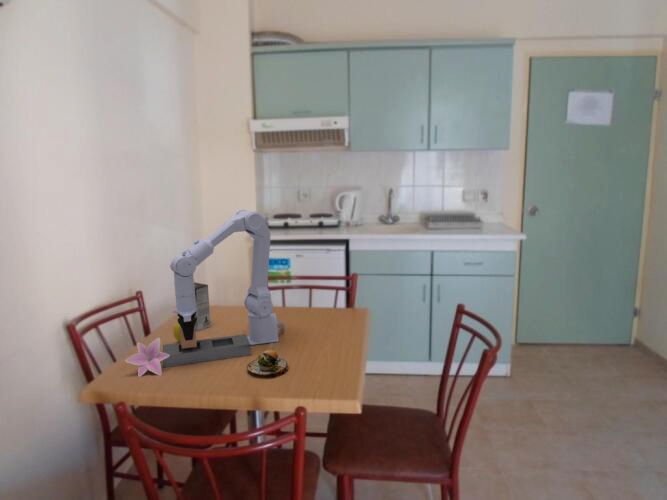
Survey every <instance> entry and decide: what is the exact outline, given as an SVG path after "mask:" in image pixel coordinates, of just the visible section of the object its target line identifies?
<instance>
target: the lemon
mask: <svg viewBox="0 0 667 500" xmlns="http://www.w3.org/2000/svg"><path fill="white" fill-rule="evenodd" d="M173 337H174V339H175V340H176V341H177V342H178V343H181V334H180V324H179V323H178V322H176V323H175V324H174V327H173Z"/></svg>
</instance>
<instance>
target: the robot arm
mask: <svg viewBox="0 0 667 500" xmlns="http://www.w3.org/2000/svg"><path fill="white" fill-rule="evenodd" d="M238 232H246V233H247V234H248V235H249V236H250V237H251V238H252V239H253V247H252V249H253V250H252V264H251V265H252V266H251V282H250V284H251V285H250V286H249V288H247V293H246V296H245V299H244V301H243V302H244V308H245V309H246V310H247V318H248V331H249V332H248V336H247V335H246V336H247V338H248V340H249V343H250V346H253V345H262V344H267V343H268V344H269V343H270V344H271V343H275V342H276V343H277V342H279V334H278V333H279V330H278V319H277V313H275V312H273V308H274V304H273V302H272V294H271V292H270V289H269V288H268V283H269V282H268V279H269V269H270V268H269V267H270V266H269V264H270V253H271V252H270V251H271V250H270V249H271V237H272V236H271V232H270V230H269V227H268V225H267V219H266V217H265V216H263V214H261V213H260V212H258V211H254V210H253V211H251V210H246V209H240V210H238V211H237V212H236V213H235V214H233V215H230V217H229V218H228V219H227V220H226V221H225V222H224V223H223V224H222V225H220V227H219V228H217V229H216V230H215V231H214V232H213V233H212V234H210V235H209V236H208V237H207V238H200V239H195V240H194V241H193V243H194V244H192V245H191V246H189V248H187V249H186V250H183V251H182V252H181V254H180V255H179V254H177V255H176V256H174V257H173V258H172V260H171V264H170V265H169V267H170V269H171V271H172V272H173V278H174V283H173V284H174V293H175V294H174V295H175V303H176V308H174V309H172V313H173V314H175V313H176V314H177V317H178V318H177V323H179V324H180V326H181V328H182V331H183V334H184V338H185V340H186V341H187V340H193V334H194V326H195V323H196V321H197V317H195V315H196V311H197V307H196V300H195V287H194V282H195V279H194V273H195V272H196V270H197V267H198V266H199V265H200V264H201V263H203V262H204V261H205V260H206V259H207V258H209V257H210V256H211V255H213V253H214V249H215V247H216V246H218V245H219V244H220V243H222V242H223V241H224V240H226V239H227V238H229V236H231V235H232V234H234V233H238Z"/></svg>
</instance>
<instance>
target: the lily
mask: <svg viewBox="0 0 667 500" xmlns="http://www.w3.org/2000/svg"><path fill="white" fill-rule="evenodd" d="M136 343H137V344H136V345H137V346H136V347H137V353H134V354H132V355H130V356H128V357H127V358H125V360H124V362H125V363H127V364H130V365H135V366H138V370H137V376H138V378H140V377H142V376H143V375H144V374H145V373H147V372H148V370H149V371H150V372H152V373H153V374H154V375H155V374H156V375H158V376H162V374H163V372H162V365H161V361H162V362H163V360H164V359H166V358H167V357H169V356H170V355H169V354H167V353H163V352H162V351H160V349H161V338H160V337H157V338H155V339H154V340H153V341H151V342H150V343H149V344H148V345H145V344H143V343H141V342H139V341H138V342H136Z"/></svg>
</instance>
